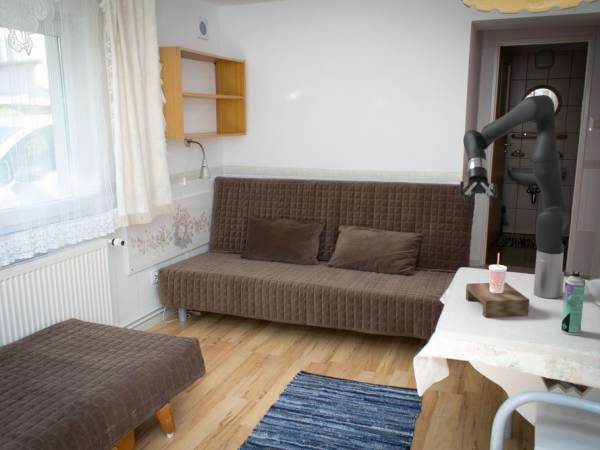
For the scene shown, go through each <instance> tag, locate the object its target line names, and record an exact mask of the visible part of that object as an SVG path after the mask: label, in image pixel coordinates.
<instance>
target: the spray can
mask: <svg viewBox="0 0 600 450" xmlns="http://www.w3.org/2000/svg"><path fill="white" fill-rule="evenodd" d="M585 281H586V280H585V279H584V278H582V276H581V275H580V272H579V271H577V270H573V271H572V274H571V275H570V276H568V277H566V278H565V281H564V282H565V284H564V295H563V305H562V307H563V308H562V317H561V329H560V331H561V333H562V334H565V335H566V336H567V335H568V336H578V335H581V330H582V329H581V328H582V320H583V319H582V317H583V307H584V299H585V298H584V297H585V290H586V289H585V287H586V282H585Z"/></svg>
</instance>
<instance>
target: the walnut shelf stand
mask: <svg viewBox="0 0 600 450" xmlns="http://www.w3.org/2000/svg"><path fill="white" fill-rule="evenodd" d="M465 285H466V287H465V300H466V301H467V302H477V301H478V302H480V303H481V304H483V305H482V316H483V317H484V318H486V319H487V318H509V317H511V318H512V317H528V316H529V309H530V298H528V297H526V295H524V294H522V293H521V292H519V291H518V290H517V289H516V288H514V287H513V286H511V285H510V284H509V283H508V282H506V281H505V282H504V290H503V293H493V292H490V282H480V283H478V282H475V283H466V284H465Z"/></svg>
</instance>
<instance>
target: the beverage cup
mask: <svg viewBox="0 0 600 450" xmlns="http://www.w3.org/2000/svg"><path fill="white" fill-rule="evenodd" d="M507 269H508V267H507V266H505V265H502V264H500V252H498V253H497V263H496V264H490V265H489V266H488V270H489V283H490V292H493V293H503V290H504V282H506V280H505V279H506V274H507Z"/></svg>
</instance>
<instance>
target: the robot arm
mask: <svg viewBox="0 0 600 450" xmlns="http://www.w3.org/2000/svg"><path fill="white" fill-rule="evenodd" d="M555 108H556V107H555V104H554V101H553V99H552V97H550V96H549V95H548V94H542V95H541V94H538V95H532V96H528V97H526V98H524V99H523V100H522V101H520V102H519V103H518V104H516V106H514V107H513V108H511V110H510V111H508V112H506V113H505V114H503V115H502V116H501V117H499V118H497V119H495V120H493V121H492V122H490V123H488V124H486V125H485V126H483V127H482V128H481V131H478V130H476V129H469V130H467V131H466V132H465V133H464V135H463V140H462V141H463V147H464V150H465V152H466V155H467V172H466V173H467V182H464V181H462V180H461V181H460V184H459V194H458V196H459V197H460V198H463V201H464V205H465V206H467V207H468V206H469V196H471V195H472V194H480V195H482V194H484V196H486V197H487V198H488V207H489V208H490V207H492V206H493V205H494V199H497V198H498V196H499V195H498V194H499V191H498V184H497V182H496V181H493V182H492V183H490V182H489V176H488V175H489V174H488V164H487V154H486V151H485V150H487V149H489V147H490V146H491V145H492V144H493V143H494V142H495V141H496V140H499V139H500V138H503V137H504V136H505V135H507V134H509V133H510V132H511V131H512V130H513V129H514V128H515V127H517V126H519V125H522V124H525V123H528V122H531V123H532V122H535V124H536V125H535V126H536V140H535V144H534V145H533V146H534V147H533V151H532V154H531V164H532V165H531V166H532V171H533V172H532V173H533V176H534V179H535V182H536V184H537V187H538V188H539V191H540V192H541V196H542V200H543V211H542V212H541V213H539V215H538V217H537V220H536V225H535V229H536V230H535V244H536V256H535V257H536V258H535V269H534V281H533V294H534V296H536V297H538V298H539V297H540V298H542V299H543V298H544V299H558V298H560V297H563V291H564V282H565V281H564V279H565V272H564V271H563V263H564V252H565V245H564V244H563V231H565V229H566V228H567V227H568V225H569V221H570V220H569V219H570V217H569V213H568V209H567V205H566V202H565V197H564V191H563V183H562V182H563V181H562V172H561V165H560V164H561V163H560V155H559V151H558V150H559V149H558V143H557V141H558V140H557V134H556V111H555ZM466 187H467V190H466V191H464V189H465V188H466ZM490 189H491V190H492V191H491V190H490Z"/></svg>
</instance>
